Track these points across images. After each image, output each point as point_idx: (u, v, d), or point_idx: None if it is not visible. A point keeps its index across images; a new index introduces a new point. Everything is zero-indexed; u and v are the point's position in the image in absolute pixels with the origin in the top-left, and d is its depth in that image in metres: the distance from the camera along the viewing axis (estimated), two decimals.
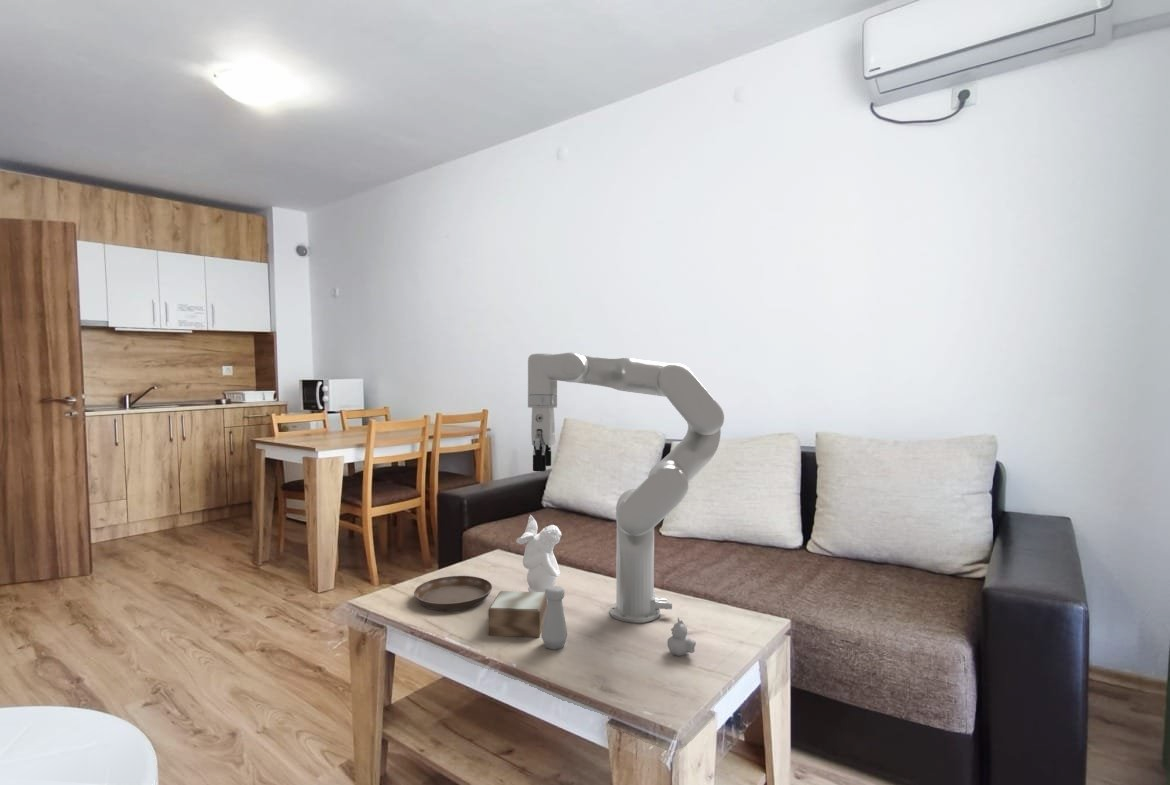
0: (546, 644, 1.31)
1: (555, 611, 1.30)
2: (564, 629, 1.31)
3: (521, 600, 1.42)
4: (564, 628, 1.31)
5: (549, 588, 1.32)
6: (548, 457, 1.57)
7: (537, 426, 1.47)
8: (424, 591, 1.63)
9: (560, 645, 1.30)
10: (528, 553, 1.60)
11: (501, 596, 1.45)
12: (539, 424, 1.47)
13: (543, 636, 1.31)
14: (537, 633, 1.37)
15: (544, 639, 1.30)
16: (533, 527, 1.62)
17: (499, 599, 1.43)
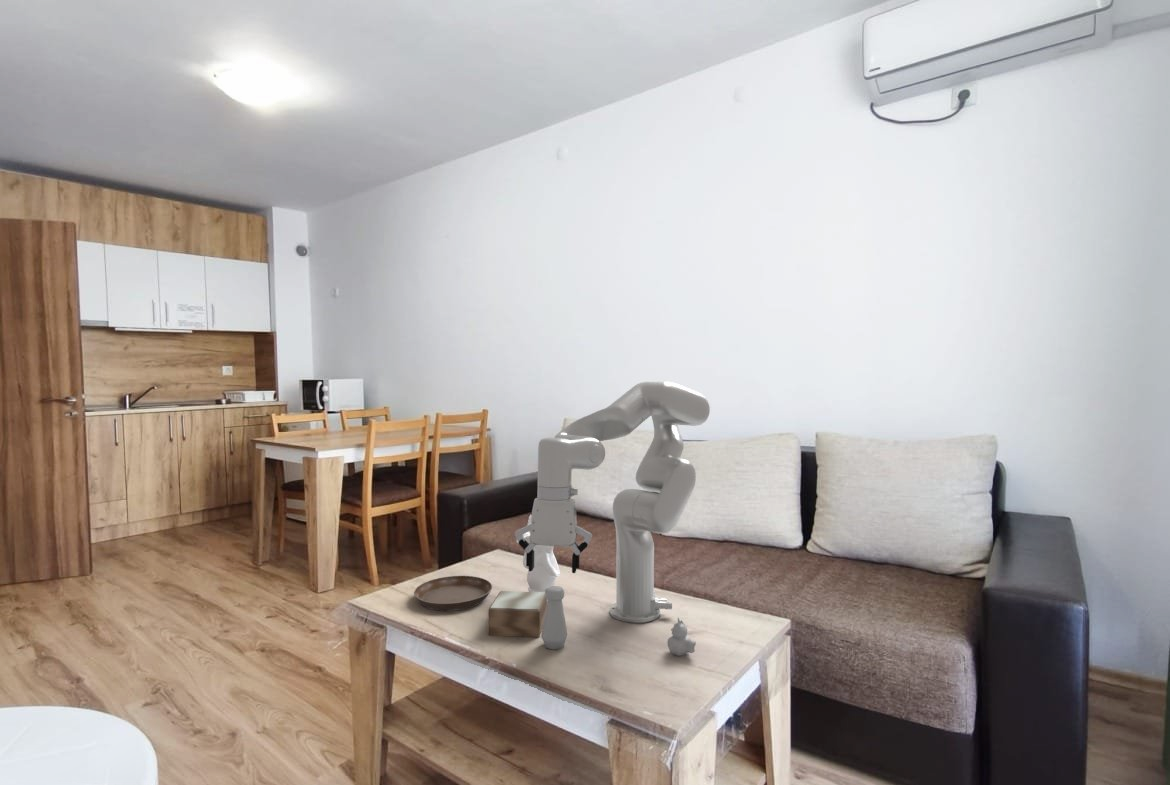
0: (546, 644, 1.31)
1: (555, 611, 1.30)
2: (564, 629, 1.31)
3: (521, 600, 1.42)
4: (564, 628, 1.31)
5: (549, 588, 1.32)
6: (533, 558, 1.33)
7: (575, 522, 1.31)
8: (424, 591, 1.63)
9: (560, 645, 1.30)
10: None
11: (501, 596, 1.45)
12: (576, 519, 1.31)
13: (543, 636, 1.31)
14: (537, 633, 1.37)
15: (544, 639, 1.30)
16: None
17: (499, 599, 1.43)
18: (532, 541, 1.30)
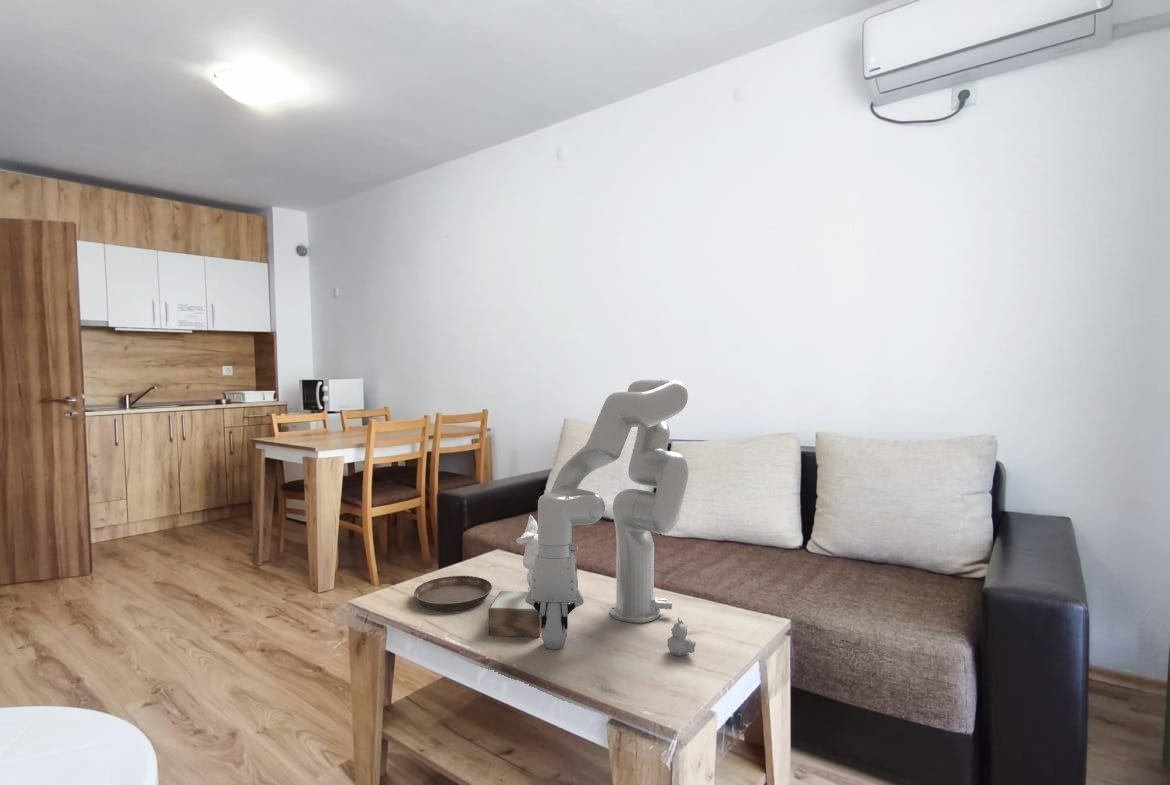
0: (546, 644, 1.31)
1: (555, 611, 1.30)
2: (564, 629, 1.31)
3: (521, 600, 1.42)
4: (564, 628, 1.31)
5: None
6: None
7: (576, 578, 1.31)
8: (424, 591, 1.63)
9: (560, 645, 1.30)
10: (528, 553, 1.60)
11: (501, 596, 1.45)
12: (576, 575, 1.32)
13: (543, 636, 1.31)
14: (537, 633, 1.37)
15: (544, 639, 1.30)
16: (533, 527, 1.62)
17: (499, 599, 1.43)
18: (533, 598, 1.31)
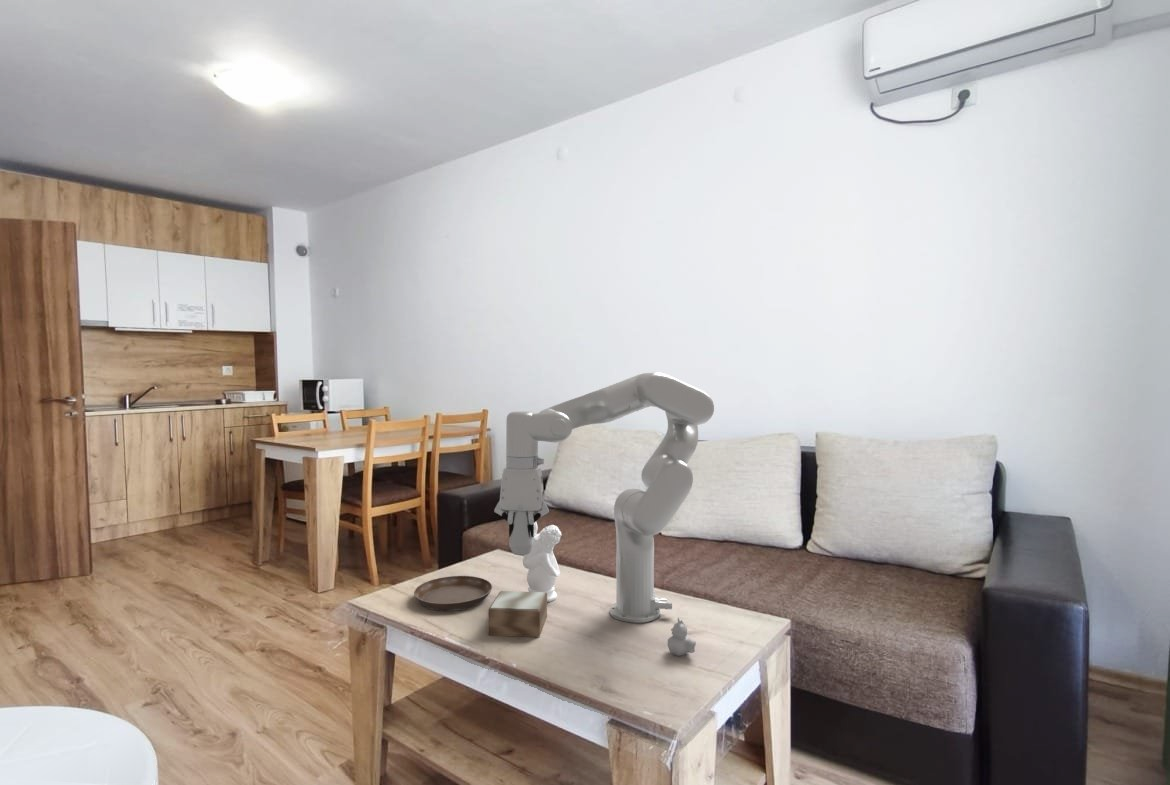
0: (513, 550, 1.40)
1: (522, 519, 1.40)
2: (530, 537, 1.41)
3: (521, 600, 1.42)
4: (530, 536, 1.41)
5: None
6: None
7: (542, 489, 1.41)
8: (424, 591, 1.63)
9: (526, 551, 1.40)
10: None
11: (501, 596, 1.45)
12: (542, 486, 1.41)
13: (510, 543, 1.40)
14: (537, 633, 1.37)
15: (511, 545, 1.40)
16: None
17: (499, 599, 1.43)
18: (502, 507, 1.40)
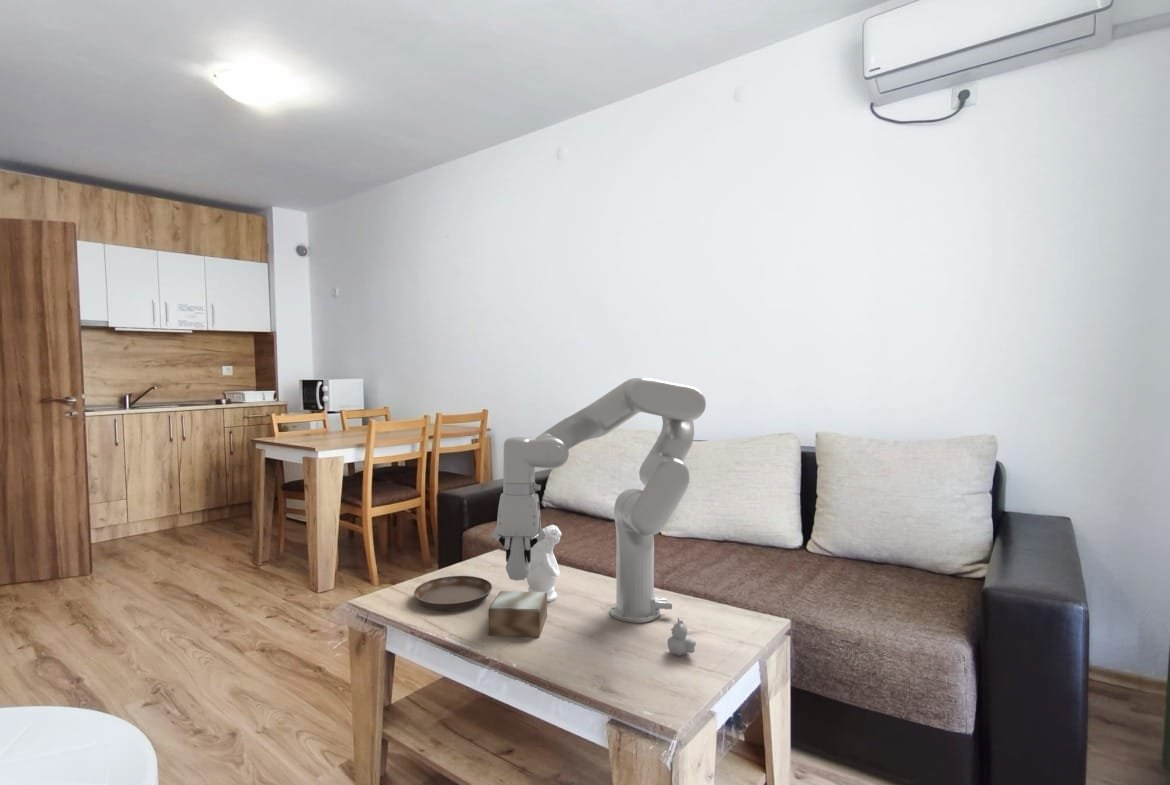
0: (510, 575, 1.41)
1: (519, 545, 1.41)
2: (527, 562, 1.42)
3: (521, 600, 1.42)
4: (527, 561, 1.42)
5: None
6: None
7: (538, 515, 1.42)
8: (424, 591, 1.63)
9: (523, 576, 1.41)
10: None
11: (501, 596, 1.45)
12: (539, 512, 1.42)
13: (507, 568, 1.41)
14: (537, 633, 1.37)
15: (508, 571, 1.41)
16: None
17: (499, 599, 1.43)
18: (499, 533, 1.41)
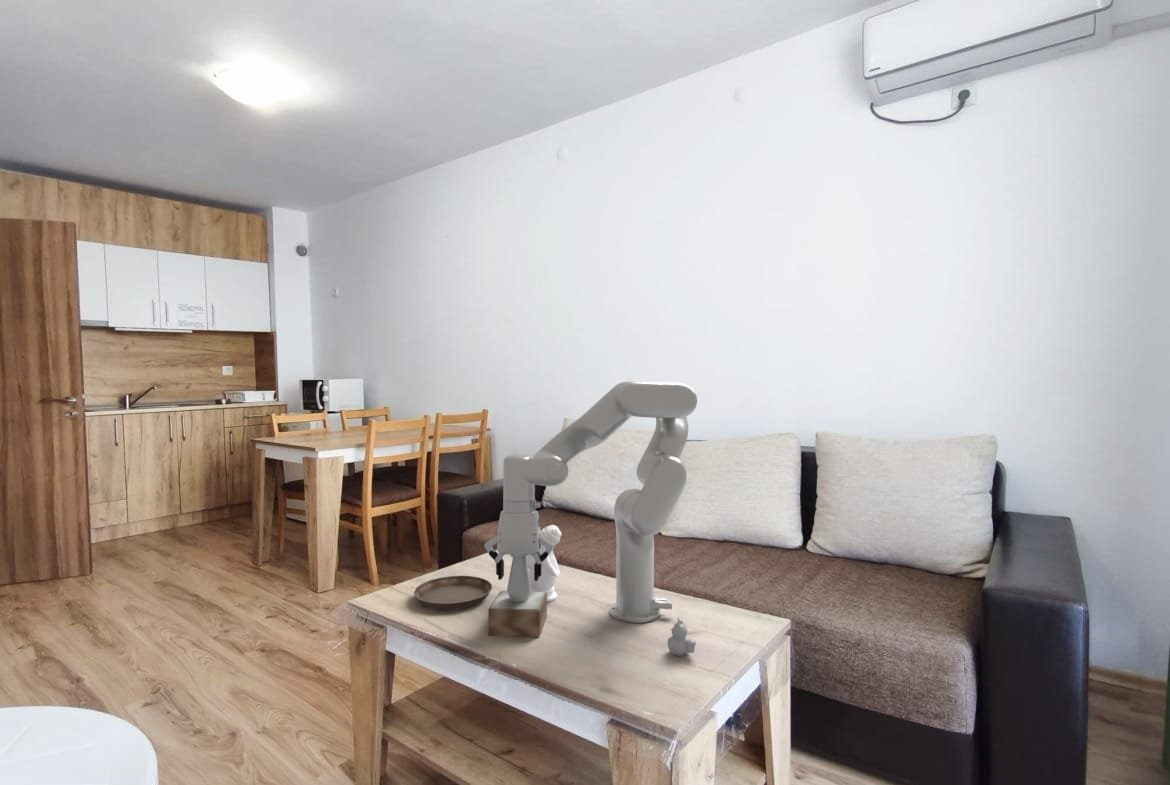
0: (511, 598, 1.41)
1: (519, 567, 1.41)
2: (528, 584, 1.42)
3: None
4: (528, 583, 1.42)
5: None
6: (503, 567, 1.44)
7: (539, 532, 1.42)
8: (424, 591, 1.63)
9: (524, 598, 1.41)
10: None
11: (501, 596, 1.45)
12: (539, 529, 1.42)
13: (508, 590, 1.41)
14: (537, 633, 1.37)
15: (509, 593, 1.41)
16: None
17: (499, 599, 1.43)
18: (499, 550, 1.41)
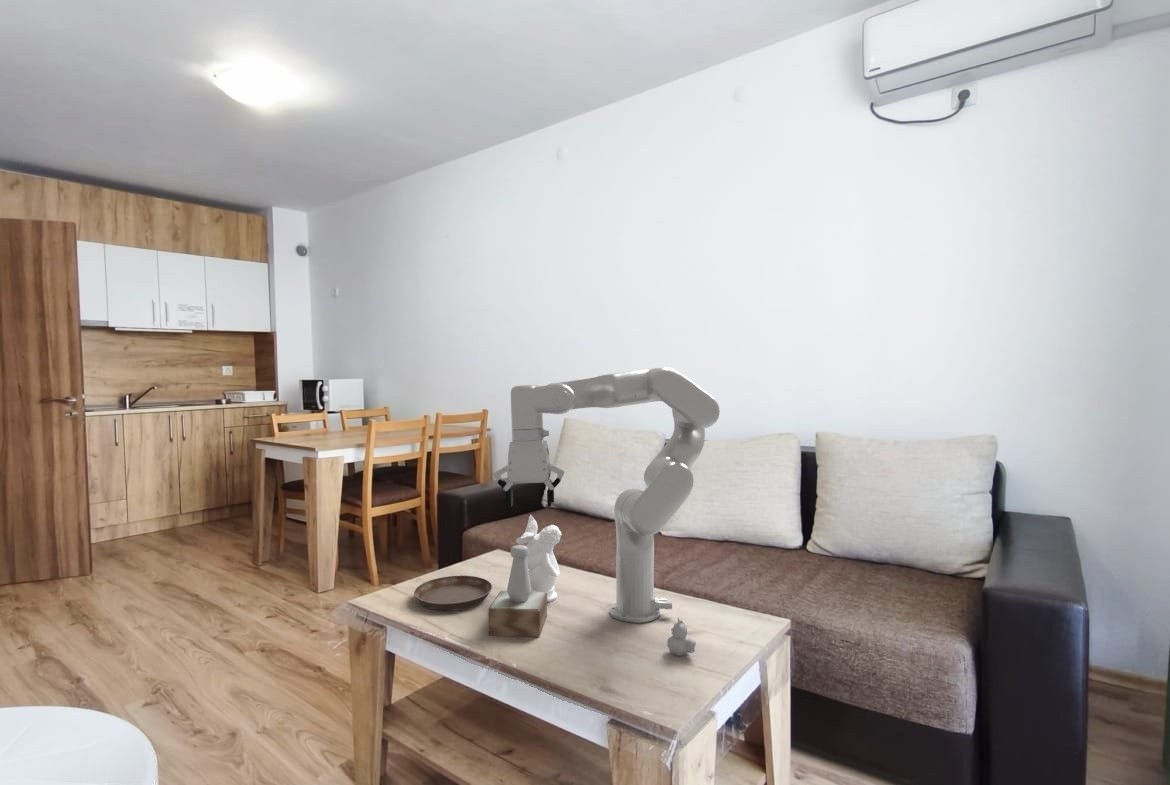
0: (511, 598, 1.41)
1: (520, 567, 1.41)
2: (528, 584, 1.42)
3: None
4: (528, 583, 1.42)
5: (514, 546, 1.42)
6: (512, 496, 1.46)
7: (548, 460, 1.43)
8: (424, 591, 1.63)
9: (524, 599, 1.41)
10: (528, 553, 1.60)
11: (501, 596, 1.45)
12: (548, 457, 1.44)
13: (508, 590, 1.41)
14: (537, 633, 1.37)
15: (509, 593, 1.41)
16: (533, 527, 1.62)
17: (499, 599, 1.43)
18: (510, 480, 1.43)
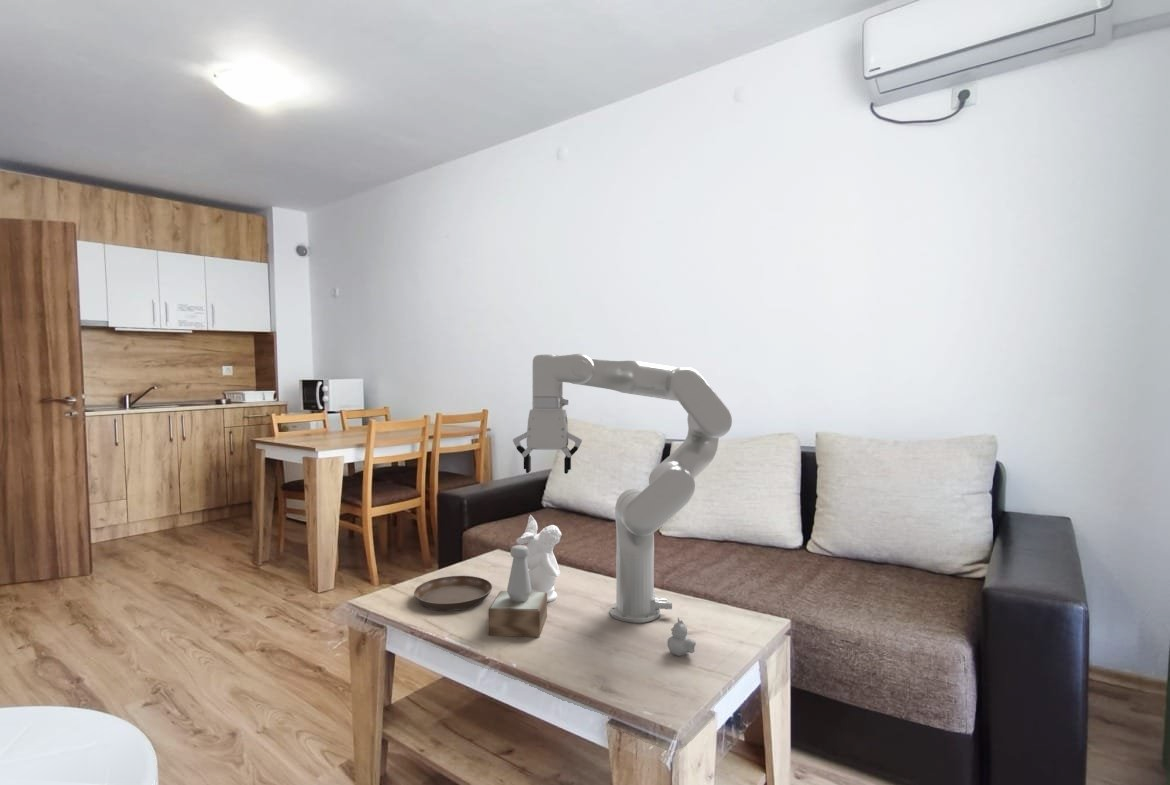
0: (511, 598, 1.41)
1: (520, 567, 1.41)
2: (528, 584, 1.42)
3: None
4: (528, 583, 1.42)
5: (514, 546, 1.42)
6: (530, 462, 1.49)
7: (567, 428, 1.47)
8: (424, 591, 1.63)
9: (524, 599, 1.41)
10: (528, 553, 1.60)
11: (501, 596, 1.45)
12: (567, 426, 1.48)
13: (508, 590, 1.41)
14: (537, 633, 1.37)
15: (509, 593, 1.41)
16: (533, 527, 1.62)
17: (499, 599, 1.43)
18: (528, 446, 1.46)
